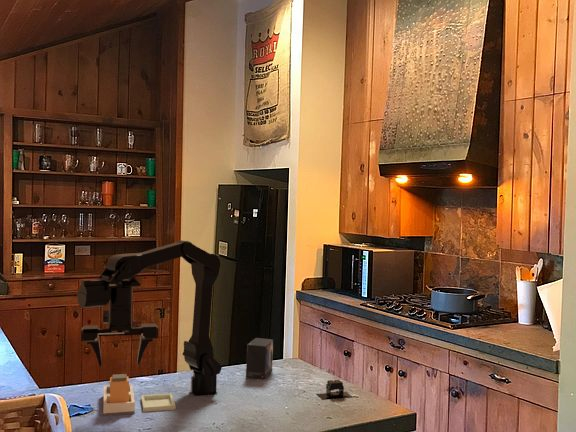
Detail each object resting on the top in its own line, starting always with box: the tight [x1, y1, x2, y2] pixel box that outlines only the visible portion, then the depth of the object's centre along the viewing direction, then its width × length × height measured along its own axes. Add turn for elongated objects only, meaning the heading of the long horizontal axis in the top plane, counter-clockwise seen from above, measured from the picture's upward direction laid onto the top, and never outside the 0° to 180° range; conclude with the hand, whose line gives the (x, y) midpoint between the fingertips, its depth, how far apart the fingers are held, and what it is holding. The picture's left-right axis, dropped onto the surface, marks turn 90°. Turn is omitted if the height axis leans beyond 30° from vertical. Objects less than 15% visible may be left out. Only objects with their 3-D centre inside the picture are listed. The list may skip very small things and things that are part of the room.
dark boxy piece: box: [315, 379, 354, 401], centre depth 173 cm, size 12×7×5 cm, turn 107°
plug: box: [109, 373, 130, 403], centre depth 155 cm, size 4×4×8 cm
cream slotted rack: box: [102, 383, 136, 417], centre depth 159 cm, size 8×16×6 cm, turn 17°
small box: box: [245, 337, 274, 380], centre depth 193 cm, size 11×6×10 cm, turn 168°
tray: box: [140, 393, 177, 413], centre depth 160 cm, size 8×10×2 cm
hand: (119, 365), depth 155 cm, fingers open, 9 cm apart
